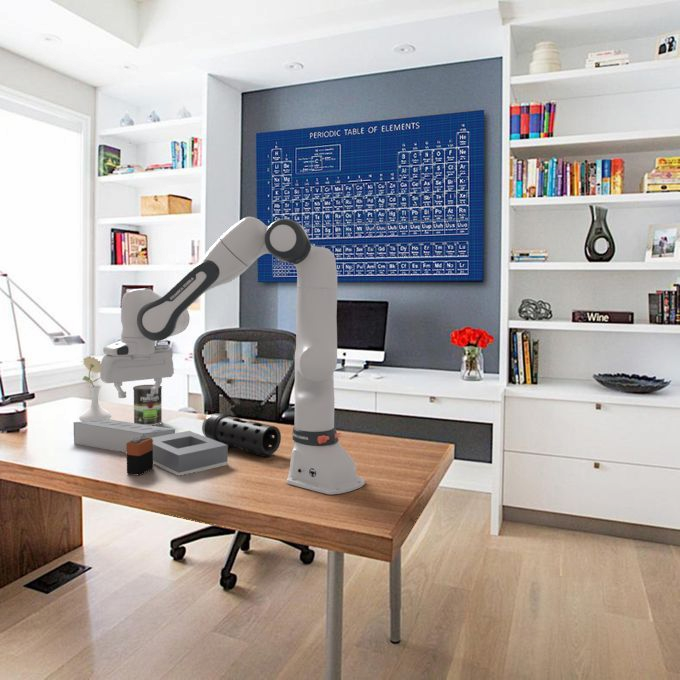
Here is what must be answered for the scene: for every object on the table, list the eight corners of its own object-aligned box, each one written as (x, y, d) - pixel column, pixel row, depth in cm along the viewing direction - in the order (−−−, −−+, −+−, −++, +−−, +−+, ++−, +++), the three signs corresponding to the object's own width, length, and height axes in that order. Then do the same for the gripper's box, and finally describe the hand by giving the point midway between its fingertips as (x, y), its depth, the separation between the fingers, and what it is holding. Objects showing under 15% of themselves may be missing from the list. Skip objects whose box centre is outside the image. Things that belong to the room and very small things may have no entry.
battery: (126, 474, 164) (125, 439, 163) (140, 467, 171) (140, 433, 170) (139, 476, 163) (139, 440, 162) (153, 468, 169) (153, 434, 168)
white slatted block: (175, 445, 195) (174, 423, 194) (143, 457, 182) (143, 433, 181) (107, 434, 207) (107, 413, 206) (74, 444, 194) (73, 422, 193)
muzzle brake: (260, 461, 178) (260, 428, 177) (200, 445, 195) (199, 414, 194) (281, 454, 186) (281, 422, 185) (221, 439, 203) (221, 410, 202)
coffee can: (164, 424, 221) (164, 387, 220) (136, 427, 216) (135, 389, 215) (159, 419, 230) (158, 383, 229) (131, 421, 225) (130, 385, 224)
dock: (227, 464, 174) (227, 443, 174) (178, 476, 163) (178, 454, 162) (189, 448, 190) (189, 429, 189) (142, 458, 179) (142, 438, 178)
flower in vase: (117, 421, 225) (115, 356, 223) (88, 426, 216) (87, 359, 214) (99, 416, 233) (97, 353, 231) (71, 421, 224) (69, 356, 222)
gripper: (167, 343, 173) (167, 390, 174) (97, 347, 159) (98, 398, 160) (177, 345, 168) (177, 393, 170) (107, 350, 154) (107, 402, 155)
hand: (138, 395), depth 165 cm, fingers open, 8 cm apart
